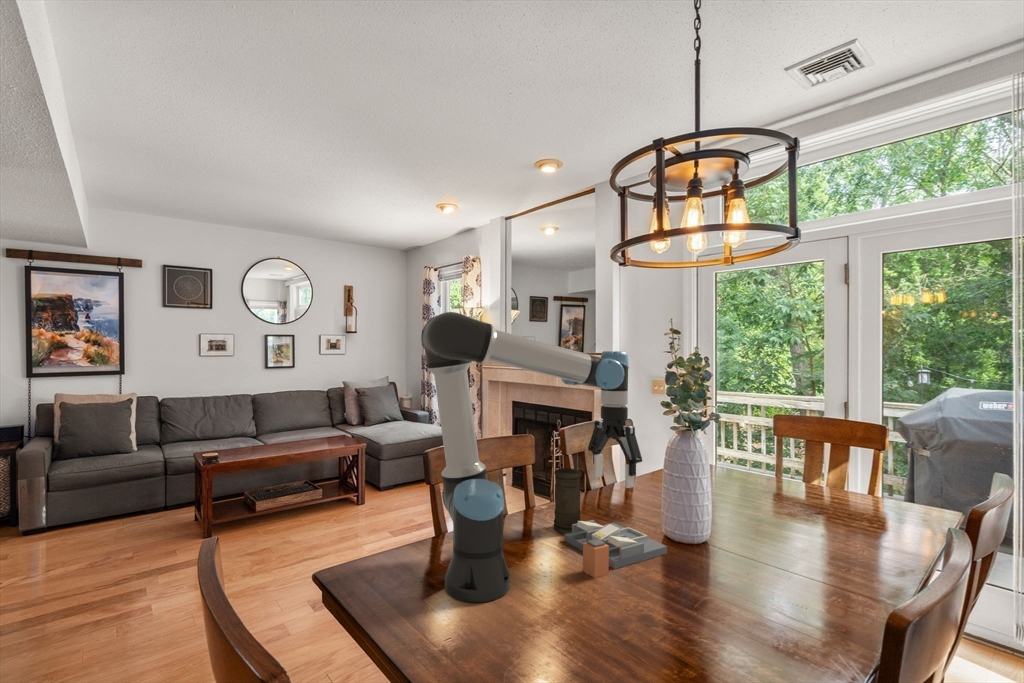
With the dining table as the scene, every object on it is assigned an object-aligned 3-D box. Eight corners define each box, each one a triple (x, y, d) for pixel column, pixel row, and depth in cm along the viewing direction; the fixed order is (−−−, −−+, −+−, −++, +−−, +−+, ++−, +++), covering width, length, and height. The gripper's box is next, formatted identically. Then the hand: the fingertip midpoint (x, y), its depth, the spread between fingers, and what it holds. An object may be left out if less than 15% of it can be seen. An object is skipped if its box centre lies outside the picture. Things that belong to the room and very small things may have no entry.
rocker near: (618, 546, 128) (619, 540, 128) (607, 541, 131) (609, 535, 131) (637, 548, 131) (638, 542, 131) (626, 543, 135) (627, 537, 135)
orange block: (594, 578, 119) (594, 546, 120) (582, 570, 123) (583, 540, 123) (608, 574, 122) (608, 543, 122) (596, 567, 126) (596, 537, 126)
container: (572, 537, 146) (573, 476, 146) (547, 530, 151) (548, 471, 151) (587, 528, 153) (588, 470, 153) (562, 522, 158) (563, 466, 158)
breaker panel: (614, 569, 124) (614, 551, 125) (564, 541, 142) (564, 525, 143) (666, 553, 134) (667, 537, 134) (613, 529, 152) (613, 515, 152)
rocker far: (585, 530, 139) (586, 524, 139) (576, 526, 142) (577, 520, 143) (603, 532, 142) (604, 527, 143) (594, 528, 146) (595, 522, 146)
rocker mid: (602, 544, 134) (601, 538, 133) (592, 539, 137) (591, 534, 137) (620, 533, 137) (619, 527, 137) (610, 529, 141) (609, 523, 140)
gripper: (656, 409, 131) (655, 490, 131) (595, 400, 152) (594, 470, 151) (636, 410, 127) (635, 494, 127) (576, 401, 148) (575, 473, 147)
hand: (613, 481), depth 139 cm, fingers open, 12 cm apart
